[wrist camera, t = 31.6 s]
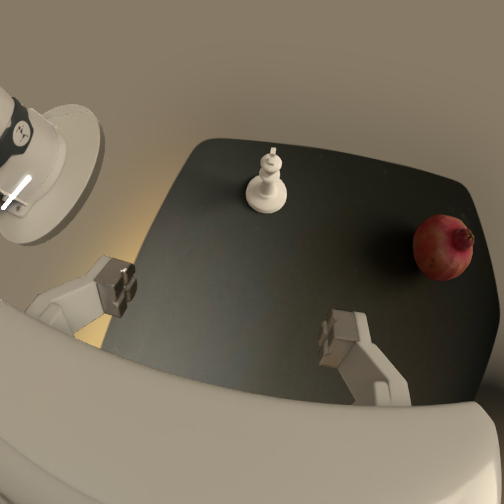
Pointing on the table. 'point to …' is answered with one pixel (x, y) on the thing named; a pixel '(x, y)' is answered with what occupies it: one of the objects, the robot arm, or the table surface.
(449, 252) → the fruit
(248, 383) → the table surface
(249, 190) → the chess piece
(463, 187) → the table surface
